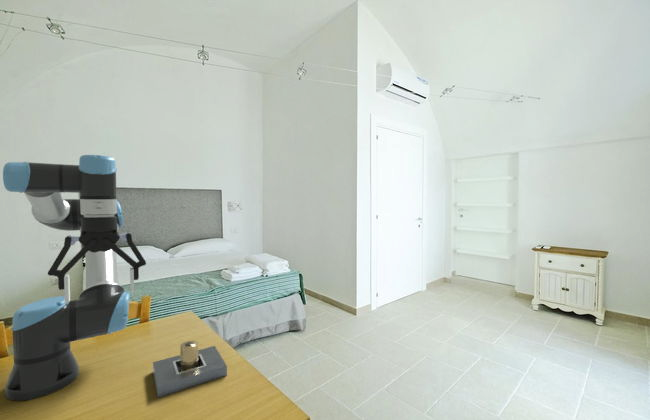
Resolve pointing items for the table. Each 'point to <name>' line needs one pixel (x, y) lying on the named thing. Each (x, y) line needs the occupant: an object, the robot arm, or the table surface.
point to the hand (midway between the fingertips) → (101, 296)
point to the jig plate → (187, 372)
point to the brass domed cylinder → (189, 355)
